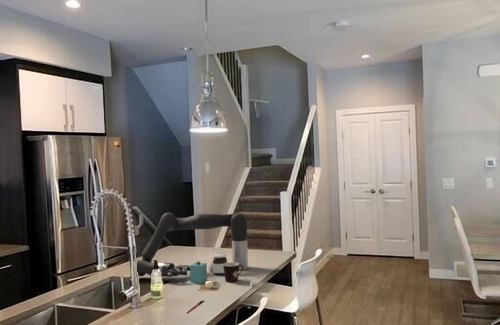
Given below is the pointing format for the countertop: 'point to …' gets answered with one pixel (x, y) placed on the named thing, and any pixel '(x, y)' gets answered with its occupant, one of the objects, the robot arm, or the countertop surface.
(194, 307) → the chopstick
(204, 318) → the countertop surface
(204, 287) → the walnut board
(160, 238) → the robot arm
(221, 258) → the spread jar
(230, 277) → the coffee mug
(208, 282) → the cream cheese
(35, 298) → the countertop surface
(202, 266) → the teal rectangular block
